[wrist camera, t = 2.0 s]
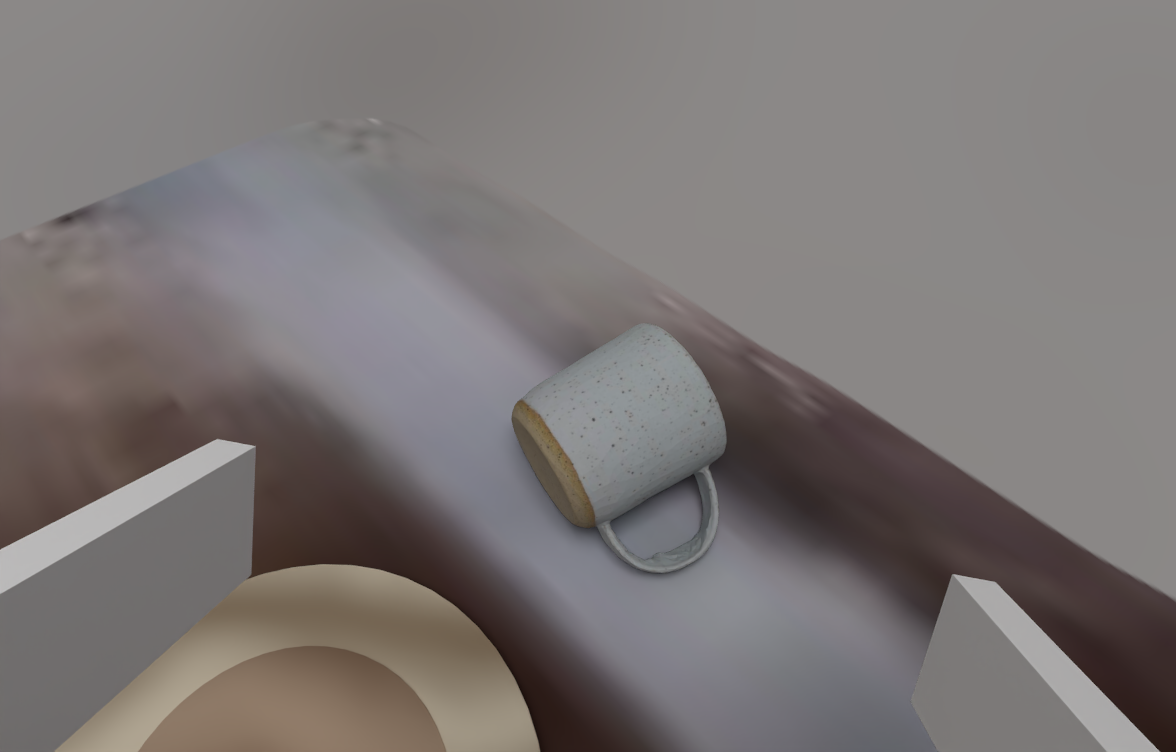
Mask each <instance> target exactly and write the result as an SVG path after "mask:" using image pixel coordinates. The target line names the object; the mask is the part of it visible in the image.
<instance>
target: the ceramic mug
mask: <svg viewBox="0 0 1176 752" xmlns="http://www.w3.org/2000/svg"><path fill="white" fill-rule="evenodd" d="M512 424H513V428H514V431H515V434H516V436H517V439H518V441H519V443H520V445H521V447H522V449H523V451H524V454H525V456H526V457H527V459H528V461H529V463H530V465H531V467H532V468H533V470H534V472H535V474H536V476H537V477H538V479H539V481H540V482H541V484H542V485H543V487H544V489H545V490H546V492H547V493H548V495H549V496H550V498H551V499H552V501H553V502H554V503H555V505H556V506H557V507H558V509H559V510H560V511H561V513H562V514H563V515H564V516H565V517H566V518H567V519H568V520H569V521H570V522H571V523H572V524H574V525H576V526H579V527H584V528H591V527H595V526H596V527H597V528H598V530H599V532H600V534H601V536H602V538H603V540H604V541H605V543H606V544H607V545H608V546H609V547H610V548H611V549H612V550H613V552H614V553H615V554H616V555H617V556H618V557H619V558H620V559H622V560H623V561H625V562H626V563H628V564H629V565H631V566H633V567H635V568H637V569H639V570H643V571H647V572H652V573H667V572H670V571H676V570H678V569H681V568H684V567H686V566H687V565H689V564H691V563H693V562H695V561H696V560H697V559H698V558H699V557H701V556H702V555H703V554H704V553H705V552H706V551H707V550H708V549H709V547H710V545H711V544H712V542H713V540H714V537H715V534H716V530H717V525H718V520H719V506H718V498H717V492H716V488H715V484H714V481H713V479H712V476H711V472H710V470H709V468H708V467H709V465H710V464H711V463H712V462H714V461H715V460H717V459H718V458H719V457H720V456H721V455H722V454H723V453H724V451H725V447H726V430H725V423H724V419H723V416H722V413H721V410H720V407H719V404H718V402H717V399H716V397H715V395H714V393H713V392H712V390H711V387H710V385H709V383H708V381H707V380H706V378H705V376H704V374H703V373H702V371H701V369H700V368H699V367H698V365H697V364H696V363H695V361H694V360H693V358H692V357H691V356H690V354H689V353H688V352H687V351H686V349H685V348H684V347H683V346H682V345H681V344H680V343H679V342H677V341H676V340H675V339H674V338H673V337H672V336H671V335H670V334H669V333H667V332H666V331H665V330H663V329H662V328H660V327H658V326H656V325H653V324H649V323H645V324H639V325H636V326H634V327H632V328H631V329H629V330H628V331H626V332H624V333H623V334H621V335H620V336H618V337H617V338H615V339H613V340H611V341H610V342H608V343H606V344H605V345H603V346H602V347H600V348H598V349H597V350H595V351H593V352H592V353H590V354H588V355H587V356H585V357H583V358H582V359H580V360H579V361H577V362H575V363H574V364H572V365H570V366H569V367H567V368H565V369H564V370H562V371H560V372H559V373H557V374H555V375H553V376H552V377H550V378H548V379H547V380H545V381H543V382H542V383H540V384H539V385H537V386H536V387H534V388H533V389H532V390H531V391H529V392H528V393H527V394H526V395H525V396H524V397H523V398H521V399H520V400H519V401H518V402H517V403H516V405H515V406H514V409H513V412H512ZM692 474H694V475H695V477H696V480H697V483H698V485H699V489H700V493H701V498H702V506H703V517H702V524H701V527H700V530H699V532H698V534H696V535H695V536H694V538H693V539H692V540H691V541H689V542H687V543H685V544H683V545H681V546H680V547H678V548H676V549H674V550H672V551H669V552H667V553H664V554H663V553H656V554H655V555H654V556H653V558H651V559H647V560H643V559H641V558H639V557H637V556H635V555H634V554H632V553H630V552H628V550H627V549H626V548H625V547H624V545H623V544H622V543H621V542H620V540H619V539H618V538H617V537H616V535H615V533H614V531H613V530H612V529H611V525H610V522H611V521H612V520H613V519H615V518H617V517H619V516H621V515H622V514H624V513H625V512H627V511H629V510H631V509H632V508H634V507H635V506H637V505H639V504H641V503H642V502H644V501H645V500H646V499H648V498H650V497H652V496H654V495H655V494H657V493H659V492H661V491H663V490H665V489H667V488H669V487H670V486H672V485H674V484H676V483H678V482H680V481H681V480H683V479H684V478H687V477H689V476H690V475H692Z"/></svg>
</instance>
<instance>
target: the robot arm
mask: <svg viewBox="0 0 1176 752" xmlns="http://www.w3.org/2000/svg"><path fill="white" fill-rule="evenodd" d="M255 450H256V446H251V445H246V444H240V443H235V442H230V441H224V440H219V439H216V440H214V441H213V442H211V443H209V444H207V445H205V446H203V447H201V448H199V449H197V450H195V451H193V452H191V453H189V454H187V455H185V456H183V457H181V458H179V459H177V460H175V461H173V462H171V463H169V464H167V465H165V466H164V467H162V468H160V469H158V470H156V471H154V472H152V473H150V474H148V475H146V476H144V477H142V478H140V479H138V480H136V481H134V482H132V483H130V484H128V485H126V486H124V487H122V488H120V489H118V490H116V491H114V492H113V493H111V494H109V495H107V496H105V497H103V498H101V499H99V500H97V501H95V502H93V503H91V504H89V505H87V506H85V507H83V508H81V509H79V510H77V511H75V512H73V513H71V514H69V515H67V516H65V517H64V518H62V519H60V520H58V521H56V522H54V523H52V524H50V525H48V526H46V527H44V528H42V529H40V530H38V531H36V532H34V533H32V534H30V535H28V536H26V537H24V538H22V539H20V540H18V541H16V542H14V543H13V544H11V545H9V546H7V547H5V548H3V549H1V550H0V752H54V751H55V750H56V749H57V748H58V747H60V746H61V745H62V744H63V743H64V742H65V741H66V740H67V739H68V738H70V737H71V736H72V735H73V734H74V733H75V732H76V731H77V730H78V729H80V728H81V727H82V726H83V725H84V724H85V723H86V722H87V721H88V720H90V719H91V718H92V717H93V716H94V715H95V714H96V713H97V712H99V711H100V710H101V709H102V708H103V707H104V706H105V705H106V704H107V703H109V702H110V701H111V700H112V699H113V698H114V697H115V696H116V695H117V694H119V693H120V692H121V691H122V690H123V689H124V688H125V687H126V686H127V685H129V684H130V683H131V682H132V681H133V680H134V679H135V678H136V677H138V676H139V675H140V674H141V673H142V672H143V671H144V670H145V669H146V668H148V667H149V666H150V665H151V664H152V663H153V662H154V661H155V660H156V659H158V658H159V657H160V656H161V655H162V654H163V653H164V652H165V651H166V650H168V649H169V648H170V647H171V646H172V645H173V644H174V643H175V642H176V641H178V640H179V639H180V638H181V637H182V636H183V635H184V634H185V633H187V632H188V631H189V630H190V629H191V628H192V627H193V626H194V625H195V624H197V623H198V622H199V621H200V620H201V619H202V618H203V617H204V616H205V615H207V614H208V613H209V612H210V611H211V610H212V609H213V608H214V607H215V606H217V605H218V604H219V603H220V602H221V601H222V600H223V599H224V598H226V597H227V596H228V595H229V594H230V593H231V592H232V591H233V590H234V589H236V588H237V587H238V586H239V585H240V584H241V583H242V582H243V581H244V580H246V579H247V578H248V577H249V576H250V575H251V563H252V535H253V506H254V478H255ZM911 703H912V705H913V707H914V709H915V711H916V713H917V714H918V716H919V718H920V720H921V722H922V723H923V725H924V727H925V729H926V731H927V732H928V734H929V736H930V738H931V740H932V742H933V743H934V745H935V747H936V749H937V751H938V752H1160V751H1159V750H1158V749H1157V748H1156V747H1155V746H1154V745H1153V744H1152V743H1151V742H1150V741H1149V740H1148V739H1147V738H1146V737H1145V736H1144V735H1143V734H1142V733H1141V732H1140V731H1139V730H1138V729H1137V728H1136V727H1135V726H1134V725H1133V724H1132V723H1131V722H1130V720H1129V719H1128V718H1127V717H1126V716H1125V715H1124V714H1123V713H1122V712H1121V711H1120V710H1119V709H1118V708H1117V707H1116V706H1115V705H1114V704H1113V703H1112V702H1111V701H1110V700H1109V699H1108V698H1107V697H1106V696H1105V695H1104V694H1103V693H1102V692H1101V691H1100V690H1099V689H1098V687H1097V686H1096V685H1095V684H1094V683H1093V682H1092V681H1091V680H1090V679H1089V678H1088V677H1087V676H1086V675H1085V674H1084V673H1083V672H1082V671H1081V670H1080V669H1079V668H1078V667H1077V666H1076V665H1075V664H1074V663H1073V662H1072V661H1071V660H1070V659H1069V658H1068V657H1067V656H1066V654H1065V653H1064V652H1063V651H1062V650H1061V649H1060V648H1059V647H1058V646H1057V645H1056V644H1055V643H1054V642H1053V641H1052V640H1051V639H1050V638H1049V637H1048V636H1047V635H1046V634H1045V633H1044V632H1043V631H1042V630H1041V629H1040V628H1039V627H1038V626H1037V625H1036V624H1035V623H1034V621H1033V620H1032V619H1031V618H1030V617H1029V616H1028V615H1027V614H1026V613H1025V612H1024V611H1023V610H1022V609H1021V608H1020V607H1019V606H1018V605H1017V604H1016V603H1015V602H1014V601H1013V600H1012V599H1011V598H1010V597H1009V596H1008V595H1007V594H1006V593H1005V592H1004V591H1003V590H1002V588H1001V587H1000V586H999V585H998V584H997V583H996V582H992V581H987V580H981V579H976V578H970V577H965V576H960V575H954V574H952V577H951V580H950V583H949V586H948V589H947V592H946V595H945V598H944V601H943V604H942V607H941V610H940V614H939V617H938V620H937V623H936V626H935V629H934V632H933V635H932V638H931V641H930V644H929V647H928V650H927V653H926V656H925V659H924V662H923V665H922V668H921V671H920V674H919V677H918V680H917V684H916V687H915V690H914V693H913V696H912V699H911Z"/></svg>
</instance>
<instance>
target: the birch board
mask: <svg viewBox="0 0 1176 752" xmlns="http://www.w3.org/2000/svg"><path fill="white" fill-rule="evenodd" d="M54 752H541V751H540V746H539V741H538V738H537V735H536V731H535V728H534V725H533V722H532V718H531V715H530V712H529V709H528V707H527V705H526V702H525V700H524V698H523V696H522V694H521V691H520V689H519V687H518V685H517V683H516V680H515V679H514V677H513V675H512V673H511V672H510V670H509V669H508V667H507V665H506V664H505V662H504V661H503V659H502V657H501V656H500V654H499V652H498V651H497V649H496V648H495V647H494V646H493V644H492V643H491V642H490V641H489V640H488V638H487V637H486V636H485V635H484V634H483V632H482V631H481V630H480V629H479V627H478V626H477V625H476V624H475V623H473V622H472V621H471V620H470V619H469V618H468V617H467V616H466V615H465V614H464V613H462V612H461V611H460V610H459V609H458V608H457V607H456V606H455V605H453V604H452V603H450V602H449V601H447V600H446V599H444V598H443V597H441V596H440V595H438V594H437V593H435V592H434V591H432V590H430V589H428V588H426V587H424V586H422V585H420V584H418V583H416V582H414V581H411V580H409V579H407V578H404V577H401V576H398V575H395V574H392V573H388V572H385V571H382V570H378V569H372V568H366V567H360V566H354V565H327V564H321V565H311V566H301V567H292V568H288V569H283V570H279V571H274V572H270V573H266V574H262V575H259V576H256V577H253V578H250V579H247V580H244V581H243V582H242V583H241V584H240V585H239V586H238V587H237V588H236V589H234V590H233V591H232V592H231V593H230V594H229V595H228V596H227V597H226V598H224V599H223V600H222V601H221V602H220V603H219V604H218V605H217V606H215V607H214V608H213V609H212V610H211V611H210V612H209V613H208V614H207V615H205V616H204V617H203V618H202V619H201V620H200V621H199V622H198V623H197V624H195V625H194V626H193V627H192V628H191V629H190V630H189V631H188V632H187V633H185V634H184V635H183V636H182V637H181V638H180V639H179V640H178V641H176V642H175V643H174V644H173V645H172V646H171V647H170V648H169V649H168V650H166V651H165V652H164V653H163V654H162V655H161V656H160V657H159V658H158V659H156V660H155V661H154V662H153V663H152V664H151V665H150V666H149V667H148V668H146V669H145V670H144V671H143V672H142V673H141V674H140V675H139V676H138V677H136V678H135V679H134V680H133V681H132V682H131V683H130V684H129V685H127V686H126V687H125V688H124V689H123V690H122V691H121V692H120V693H119V694H117V695H116V696H115V697H114V698H113V699H112V700H111V701H110V702H109V703H107V704H106V705H105V706H104V707H103V708H102V709H101V710H100V711H99V712H97V713H96V714H95V715H94V716H93V717H92V718H91V719H90V720H88V721H87V722H86V723H85V724H84V725H83V726H82V727H81V728H80V729H78V730H77V731H76V732H75V733H74V734H73V735H72V736H71V737H70V738H68V739H67V740H66V741H65V742H64V743H63V744H62V745H61V746H60V747H58V748H57V749H56V750H55V751H54Z"/></svg>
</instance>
